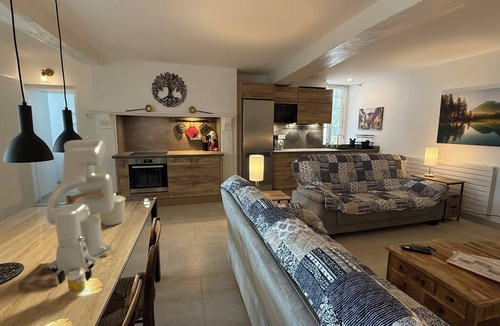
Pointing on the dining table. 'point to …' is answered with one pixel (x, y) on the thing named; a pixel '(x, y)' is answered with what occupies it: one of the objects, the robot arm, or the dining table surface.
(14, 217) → the dining table surface
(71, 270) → the supplement bottle
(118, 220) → the canister
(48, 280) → the socket block
